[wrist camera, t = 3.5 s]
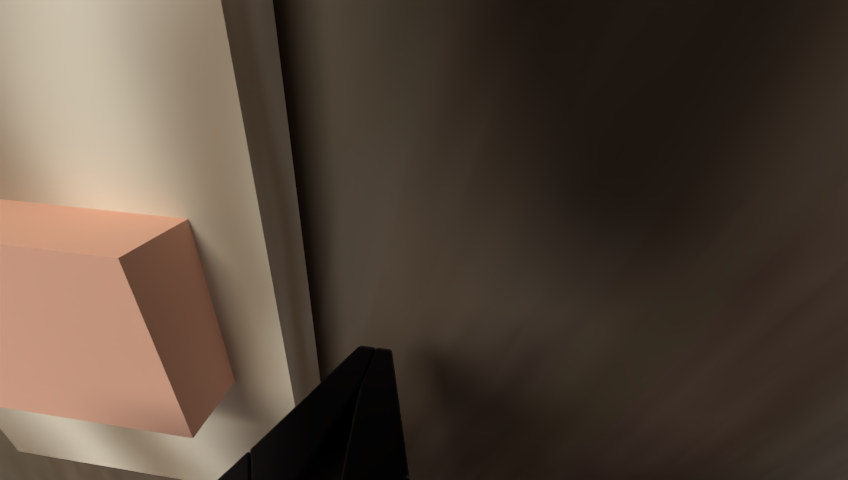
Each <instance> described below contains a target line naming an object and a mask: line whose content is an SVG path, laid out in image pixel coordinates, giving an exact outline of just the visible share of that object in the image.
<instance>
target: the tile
mask: <svg viewBox="0 0 848 480" xmlns="http://www.w3.org/2000/svg"><path fill="white" fill-rule="evenodd" d="M234 382H235V379H234V376H233V373H232V369H231V366H230V362H229V359H228V355H227V352H226V348H225V345H224V341H223V338H222V335H221V331H220V328H219V324H218V321H217V317H216V314H215V310H214V307H213V304H212V300H211V297H210V293H209V290H208V286H207V283H206V279H205V276H204V272H203V269H202V266H201V262H200V259H199V255H198V252H197V248H196V245H195V241H194V238H193V234H192V231H191V228H190V224H189V221H188V219H185V218H175V217H165V216H156V215H146V214H137V213H127V212H118V211H108V210H99V209H89V208H80V207H70V206H60V205H51V204H41V203H32V202H22V201H13V200H3V199H0V407H3V408H9V409H15V410H21V411H27V412H33V413H40V414H46V415H52V416H58V417H64V418H71V419H77V420H83V421H89V422H95V423H101V424H108V425H114V426H120V427H126V428H132V429H138V430H145V431H151V432H157V433H163V434H169V435H176V436H182V437H188V438H194V436H195V435H196V434H197V432H198V431H199V430H200V428H201V427H202V426H203V424H204V423H205V421H206V420H207V419H208V417H209V416H210V415H211V413H212V412H213V411H214V409H215V408H216V407H217V405H218V404H219V402H220V401H221V400H222V398H223V397H224V396H225V394H226V393H227V392H228V390H229V389H230V388H231V386H232V385H233V383H234Z"/></svg>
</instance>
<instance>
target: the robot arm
mask: <svg viewBox="0 0 848 480" xmlns="http://www.w3.org/2000/svg"><path fill="white" fill-rule="evenodd" d="M218 480H410V479H409V472H408V464H407V457H406V450H405V443H404V435H403V428H402V421H401V414H400V406H399V399H398V392H397V385H396V377H395V370H394V363H393V355H392V351H391V350H390V349H383V348H377V349H375V348H374V347H368V346H359V347H358V348H357V349H356V350H355V351H354V352H353V353H352V354H350V355H349V356H348V357H347V358H346V359H345V360H344V361H343V362H342V363H341V364H340V365H339V366H338V367H337V368H336V369H335V370H334V371H333V372H331V373H330V374H329V375H328V376H327V377H326V378H325V379H324V380H323V381H322V382H321V383H320V384H319V385H318V386H317V387H316V388H315V389H313V390H312V391H311V392H310V393H309V394H308V395H307V396H306V397H305V398H304V399H303V400H302V401H301V402H300V403H299V404H298V405H297V406H296V407H294V408H293V409H292V410H291V411H290V412H289V413H288V414H287V415H286V416H285V417H284V418H283V419H282V420H281V421H280V422H279V423H278V424H277V425H275V426H274V427H273V428H272V429H271V430H270V431H269V432H268V433H267V434H266V435H265V436H264V437H263V438H262V439H261V440H260V441H259V442H258V443H256V444H255V445H254V446H253V447H252V448H251V449H250V452H247V453H246V454H245V455H244V456H243V457H241V458H240V459H239V460H238V461H237V462H236V463H235V464H234V465H233V466H232V467H231V468H230V469H229V470H228V471H226V472H225V473H224V474H223V475H222V476H221V477H220V478H219V479H218Z"/></svg>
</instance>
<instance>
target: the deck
mask: <svg viewBox="0 0 848 480" xmlns="http://www.w3.org/2000/svg"><path fill="white" fill-rule="evenodd" d="M0 199H3V200H13V201H22V202H32V203H41V204H51V205H60V206H70V207H80V208H89V209H99V210H108V211H118V212H127V213H137V214H146V215H156V216H165V217H175V218H185V219H188V221H189V224H190V228H191V231H192V234H193V238H194V241H195V245H196V248H197V252H198V255H199V259H200V262H201V266H202V269H203V272H204V276H205V279H206V283H207V286H208V290H209V293H210V297H211V300H212V304H213V307H214V310H215V314H216V317H217V321H218V324H219V328H220V331H221V335H222V338H223V341H224V345H225V348H226V352H227V355H228V359H229V362H230V366H231V369H232V373H233V376H234V379H235V382H234V383H233V385H232V386H231V388H230V389H229V390H228V392H227V393H226V394H225V396H224V397H223V398H222V400H221V401H220V402H219V404H218V405H217V407H216V408H215V409H214V411H213V412H212V413H211V415H210V416H209V417H208V419H207V420H206V421H205V423H204V424H203V426H202V427H201V428H200V430H199V431H198V432H197V434H196V435H195V436H194V438H188V437H182V436H176V435H169V434H163V433H157V432H151V431H145V430H138V429H132V428H126V427H120V426H114V425H108V424H101V423H95V422H89V421H83V420H77V419H71V418H64V417H58V416H52V415H46V414H40V413H33V412H27V411H21V410H15V409H9V408H3V407H0V429H1V430H2V431H3V432H4V434H5V435H6V436H7V437H8V438H9V440H10V441H11V442H12V443H13V445H14V446H15V447H16V448H17V450H18V451H21V452H26V453H32V454H38V455H44V456H49V457H55V458H61V459H67V460H73V461H78V462H84V463H90V464H96V465H101V466H107V467H113V468H119V469H125V470H130V471H136V472H142V473H148V474H153V475H159V476H165V477H171V478H176V479H182V480H218V479H219V478H220V477H221V476H222V475H223V474H224V473H225V472H226V471H228V470H229V469H230V468H231V467H232V466H233V465H234V464H235V463H236V462H237V461H238V460H239V459H240V458H241V457H243V456H244V455H245V454H246V453H247V452H250V449H251V448H252V447H253V446H254V445H255V444H256V443H258V442H259V441H260V440H261V439H262V438H263V437H264V436H265V435H266V434H267V433H268V432H269V431H270V430H271V429H272V428H273V427H274V426H275V425H277V424H278V423H279V422H280V421H281V420H282V419H283V418H284V417H285V416H286V415H287V414H288V413H289V412H290V411H291V410H292V409H293V408H294V407H296V406H297V405H298V404H299V403H300V402H301V401H302V400H303V399H304V398H305V397H306V396H307V395H308V394H309V393H310V392H311V391H312V390H313V389H315V388H316V387H317V386H318V385H319V384H320V383H321V382H320V374H319V366H318V358H317V350H316V342H315V334H314V326H313V318H312V310H311V302H310V295H309V287H308V279H307V271H306V263H305V255H304V247H303V239H302V231H301V223H300V215H299V207H298V199H297V191H296V183H295V175H294V167H293V159H292V151H291V143H290V135H289V127H288V119H287V111H286V103H285V95H284V87H283V79H282V71H281V63H280V55H279V47H278V39H277V31H276V23H275V15H274V7H273V0H0Z"/></svg>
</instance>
